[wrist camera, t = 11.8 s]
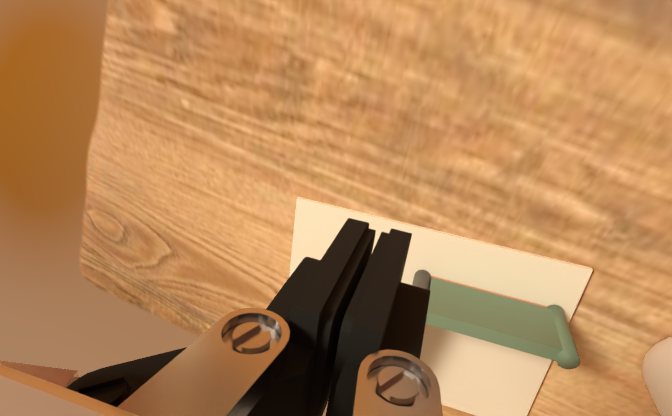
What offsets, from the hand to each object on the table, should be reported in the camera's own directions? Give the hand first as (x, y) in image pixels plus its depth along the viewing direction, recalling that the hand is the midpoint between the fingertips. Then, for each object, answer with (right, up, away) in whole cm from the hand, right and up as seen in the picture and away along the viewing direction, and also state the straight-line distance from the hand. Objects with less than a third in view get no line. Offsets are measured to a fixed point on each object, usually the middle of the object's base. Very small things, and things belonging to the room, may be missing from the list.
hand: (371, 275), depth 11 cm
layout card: (+7, -9, +32) cm, 34 cm away
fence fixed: (+13, -6, +29) cm, 32 cm away
